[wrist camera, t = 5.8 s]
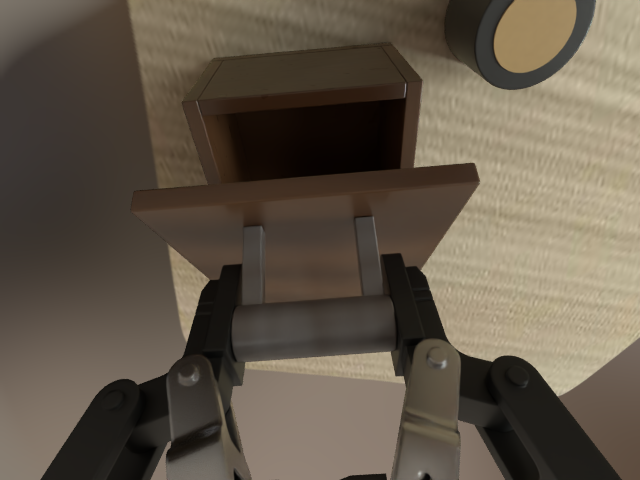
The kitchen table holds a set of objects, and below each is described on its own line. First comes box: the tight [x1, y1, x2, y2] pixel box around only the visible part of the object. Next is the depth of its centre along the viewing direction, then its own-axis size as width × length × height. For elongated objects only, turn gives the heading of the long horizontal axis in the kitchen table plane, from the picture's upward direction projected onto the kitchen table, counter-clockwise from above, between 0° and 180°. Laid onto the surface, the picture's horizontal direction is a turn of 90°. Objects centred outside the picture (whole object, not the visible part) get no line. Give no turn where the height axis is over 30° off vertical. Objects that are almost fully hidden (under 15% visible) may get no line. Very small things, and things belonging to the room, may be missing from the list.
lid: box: [131, 163, 480, 362], centre depth 17 cm, size 15×11×5 cm
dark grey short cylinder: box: [445, 0, 596, 90], centre depth 19 cm, size 6×6×5 cm
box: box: [182, 42, 423, 185], centre depth 23 cm, size 14×11×8 cm
